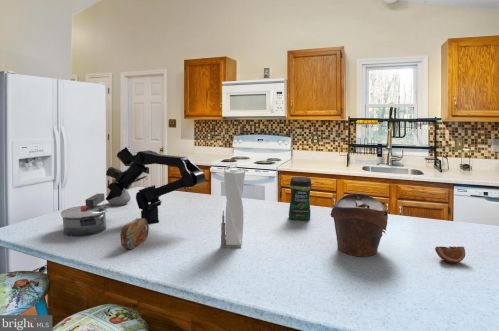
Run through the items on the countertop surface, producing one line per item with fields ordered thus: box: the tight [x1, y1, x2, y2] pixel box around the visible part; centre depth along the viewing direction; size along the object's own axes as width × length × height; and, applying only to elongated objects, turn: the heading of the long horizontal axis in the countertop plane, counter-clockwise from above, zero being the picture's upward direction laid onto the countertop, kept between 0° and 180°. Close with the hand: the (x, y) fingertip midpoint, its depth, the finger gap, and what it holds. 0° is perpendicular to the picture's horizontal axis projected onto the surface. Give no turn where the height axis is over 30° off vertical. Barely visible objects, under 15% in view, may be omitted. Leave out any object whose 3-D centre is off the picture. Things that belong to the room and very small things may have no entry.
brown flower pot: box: [330, 192, 389, 257], centre depth 115 cm, size 18×20×18 cm
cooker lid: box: [60, 192, 107, 219], centre depth 139 cm, size 25×16×4 cm, turn 2°
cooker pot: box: [62, 212, 107, 238], centre depth 137 cm, size 26×15×7 cm, turn 32°
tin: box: [120, 217, 150, 250], centre depth 120 cm, size 15×3×8 cm, turn 168°
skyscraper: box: [220, 163, 246, 249], centre depth 120 cm, size 8×8×28 cm
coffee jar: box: [288, 176, 312, 221], centre depth 152 cm, size 10×8×19 cm
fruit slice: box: [434, 246, 466, 264], centre depth 107 cm, size 8×7×5 cm
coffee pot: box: [107, 175, 149, 207], centre depth 176 cm, size 21×12×15 cm, turn 83°
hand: (106, 199), depth 147 cm, fingers closed
